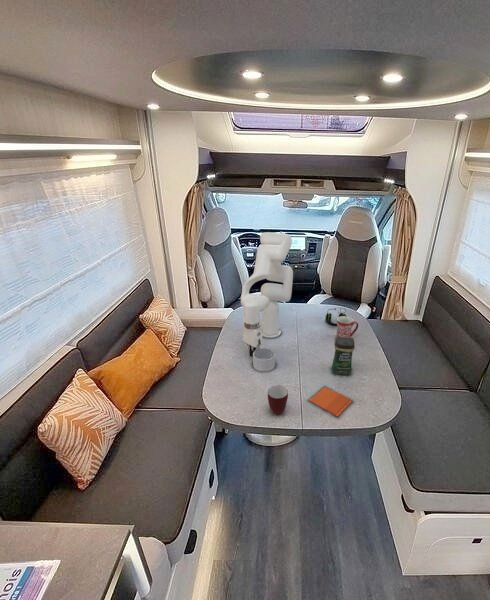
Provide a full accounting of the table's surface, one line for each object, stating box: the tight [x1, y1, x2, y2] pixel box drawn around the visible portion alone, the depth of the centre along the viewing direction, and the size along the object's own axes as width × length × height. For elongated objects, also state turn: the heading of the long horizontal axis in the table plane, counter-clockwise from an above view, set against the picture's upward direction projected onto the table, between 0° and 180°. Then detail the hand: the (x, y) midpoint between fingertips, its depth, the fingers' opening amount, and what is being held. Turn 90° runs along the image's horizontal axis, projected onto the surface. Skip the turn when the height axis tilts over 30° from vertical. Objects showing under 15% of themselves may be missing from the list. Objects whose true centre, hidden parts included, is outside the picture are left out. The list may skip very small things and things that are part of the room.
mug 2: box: [336, 315, 359, 338], centre depth 180 cm, size 13×9×14 cm
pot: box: [252, 347, 276, 372], centre depth 157 cm, size 11×11×6 cm
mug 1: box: [267, 384, 289, 416], centre depth 127 cm, size 11×8×10 cm
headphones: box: [324, 307, 348, 328], centre depth 202 cm, size 16×10×20 cm
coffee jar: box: [331, 336, 356, 376], centre depth 151 cm, size 10×8×19 cm
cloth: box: [309, 386, 353, 418], centre depth 135 cm, size 14×12×1 cm
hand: (252, 355), depth 162 cm, fingers closed
